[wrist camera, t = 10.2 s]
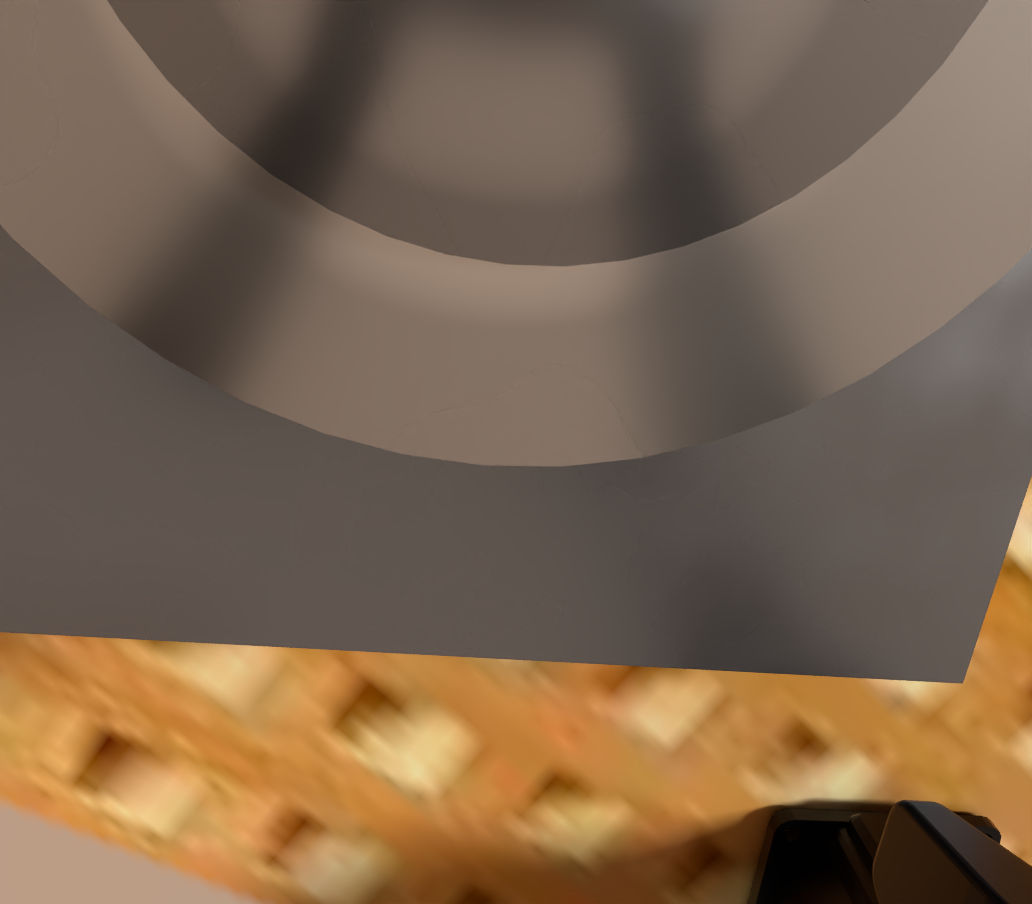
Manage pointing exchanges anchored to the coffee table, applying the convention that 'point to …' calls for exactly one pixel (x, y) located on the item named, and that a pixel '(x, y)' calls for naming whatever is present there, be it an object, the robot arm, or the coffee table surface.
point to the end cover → (521, 202)
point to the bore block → (512, 515)
